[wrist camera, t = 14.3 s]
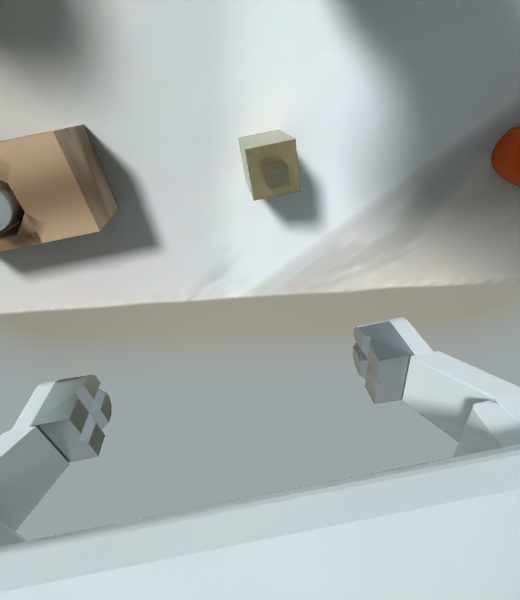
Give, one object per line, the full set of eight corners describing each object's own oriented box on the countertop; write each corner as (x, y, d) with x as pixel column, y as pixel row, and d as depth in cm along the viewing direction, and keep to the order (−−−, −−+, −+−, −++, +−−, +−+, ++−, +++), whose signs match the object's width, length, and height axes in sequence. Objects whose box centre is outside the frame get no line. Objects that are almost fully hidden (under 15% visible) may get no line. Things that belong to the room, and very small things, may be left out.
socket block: (-87, 158, 26) (-159, 174, 21) (83, 124, 26) (52, 131, 21) (-30, 238, 30) (-79, 267, 25) (118, 208, 30) (100, 231, 25)
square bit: (238, 138, 28) (247, 153, 20) (278, 129, 28) (302, 142, 20) (245, 180, 30) (256, 208, 22) (283, 172, 30) (306, 198, 22)
